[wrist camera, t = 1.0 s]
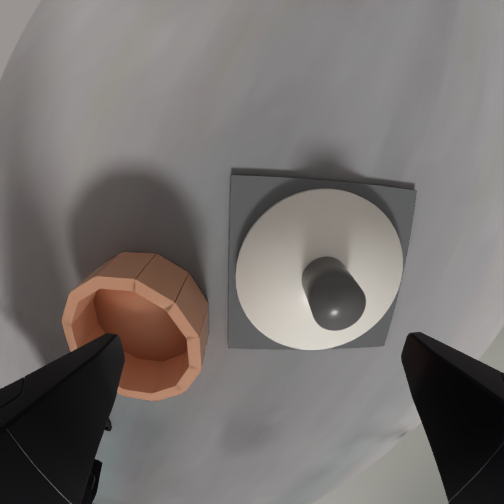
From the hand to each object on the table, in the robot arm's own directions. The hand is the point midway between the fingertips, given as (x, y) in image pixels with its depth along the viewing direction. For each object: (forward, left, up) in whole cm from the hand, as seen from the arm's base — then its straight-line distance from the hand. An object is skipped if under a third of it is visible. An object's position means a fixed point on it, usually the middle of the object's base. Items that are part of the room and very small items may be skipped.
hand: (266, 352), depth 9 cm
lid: (-3, -5, -12) cm, 13 cm away
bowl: (-7, +8, -13) cm, 17 cm away
